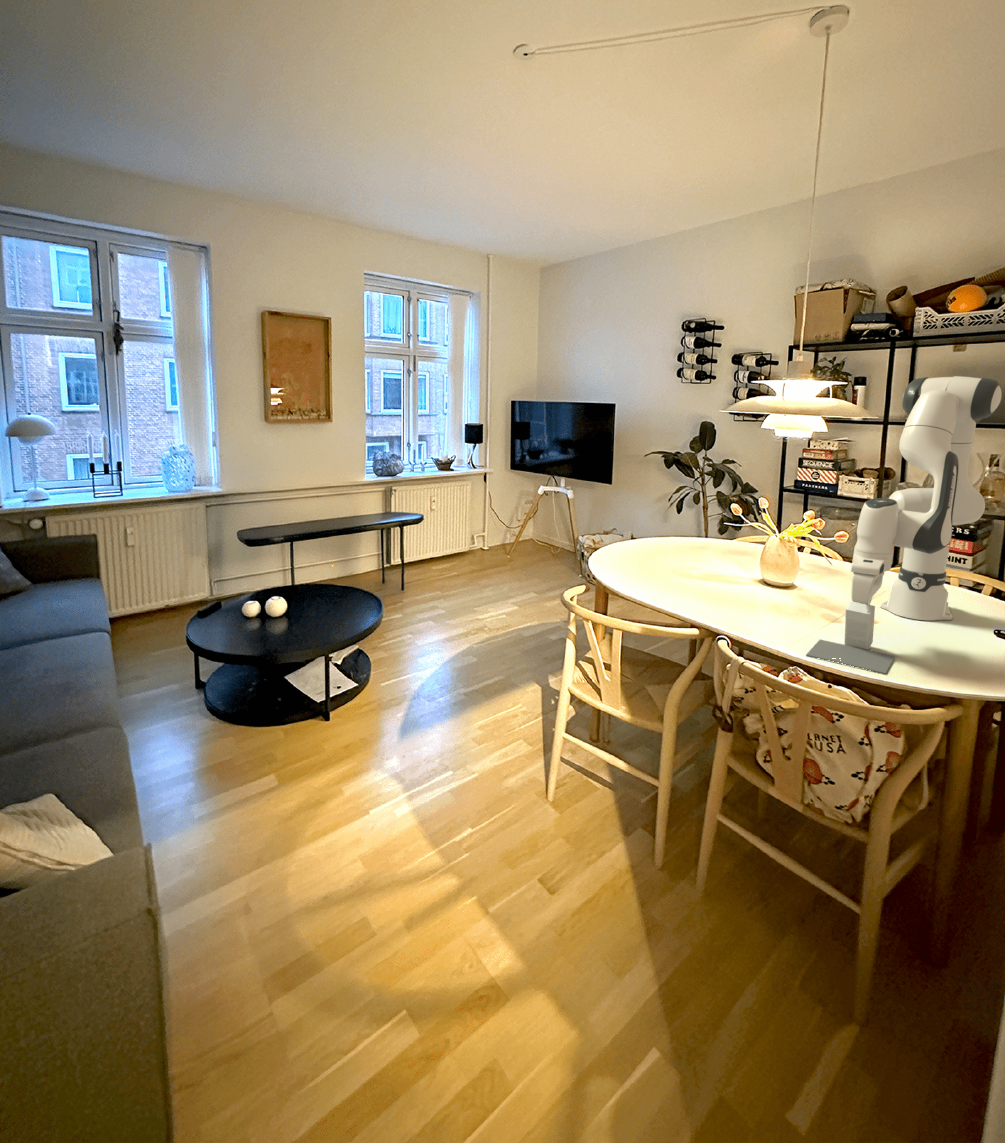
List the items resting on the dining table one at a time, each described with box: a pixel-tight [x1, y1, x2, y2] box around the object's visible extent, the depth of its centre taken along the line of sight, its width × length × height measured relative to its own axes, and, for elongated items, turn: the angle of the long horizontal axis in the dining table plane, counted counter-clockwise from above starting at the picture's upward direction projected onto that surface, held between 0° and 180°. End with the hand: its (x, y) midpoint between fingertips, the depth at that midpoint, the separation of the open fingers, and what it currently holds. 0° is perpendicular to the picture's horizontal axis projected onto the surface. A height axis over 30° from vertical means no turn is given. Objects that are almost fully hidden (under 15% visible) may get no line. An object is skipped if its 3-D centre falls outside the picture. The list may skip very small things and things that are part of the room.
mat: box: [805, 639, 896, 675], centre depth 161 cm, size 14×18×1 cm
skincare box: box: [844, 601, 876, 650], centre depth 165 cm, size 6×4×12 cm
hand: (864, 611), depth 166 cm, fingers closed
